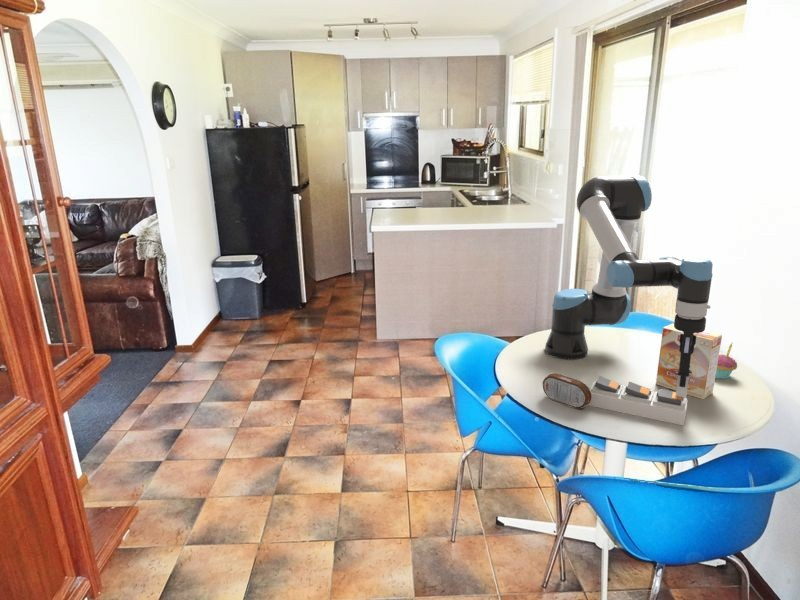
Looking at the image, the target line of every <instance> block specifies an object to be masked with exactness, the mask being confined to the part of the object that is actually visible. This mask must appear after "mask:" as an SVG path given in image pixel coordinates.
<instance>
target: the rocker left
mask: <svg viewBox="0 0 800 600" xmlns="http://www.w3.org/2000/svg"><path fill="white" fill-rule="evenodd" d="M596 380H597V382H596V384H595V387H597V388H599V389H602V390H604V391H608V392H613V393H616V391H617V389H618V386H619V385H620V383H618V382H616V381H614V380H611V379H608V378H606V377H603V376H600V375H599V376H598V378H597V379H596Z"/></svg>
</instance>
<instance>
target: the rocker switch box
mask: <svg viewBox="0 0 800 600" xmlns="http://www.w3.org/2000/svg"><path fill="white" fill-rule="evenodd" d="M597 380H598V379H594V381H593V382H592V385H591V387H590V388H589V390H590V392H591V401H590V403H589V404H588V405H587V406H589V407H595V408H598V409H599V408H600V409H604V410H608V411H613V412H618V413H624V414H628V415H632V416H637V417H642V418H647V419H651V420H656V421H661V422H666V423H670V424H675V425H680V426H685V419H686V413H687V407H688V398H687V397H686V398H685V397H682V400H681V406H679V405H674V404H669V403H665V402H661V401H657V398H658V393H659V391H655V390H651V389H650V392H649V395H648V398H647V399H644V398H639V397H635V396H632V395H630V394H627V393H625V391H626V389H627V386H628V385H623V384H619V386H618V389H617V391H616V393H613V392H608V391H604V390H602V389H599V388H597V387H595V384H596V382H597ZM654 391H655V392H654Z"/></svg>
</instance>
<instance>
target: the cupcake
mask: <svg viewBox="0 0 800 600" xmlns="http://www.w3.org/2000/svg"><path fill="white" fill-rule="evenodd" d="M732 347H733V342H731V344H729V347H728V350H727V352H726V355H725V354H719V357H718V363H717V370H716V376H715V379H720V380H725V379H726V378H727V379H729V377H730V375H731V374H732V372H733V371H734V370H737V368H738V363H737V361H736V359H734V358H733V357H731V356H729V355H730V352H731V350H732Z"/></svg>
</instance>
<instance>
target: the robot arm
mask: <svg viewBox="0 0 800 600" xmlns="http://www.w3.org/2000/svg"><path fill="white" fill-rule="evenodd" d="M652 198H653V197H652V188H651V184H650V183H649V181H648V180H647V179H646V178H645V177H644V176H642V175H631V174H629V175H627V174H626V175H600V176H599V175H598V176H595V177H593V178H591V179H588V180H587V181H586V182H585V183H584V184H583V185H582V186H581V188H580V189H579V191H578V194H577V197H576V207H577V211H578V213H579V215H580V217H581V218H582V219H583V220H586V222H587V223H588V224H589V227H590V228H591V230H592V233H593V234H594V236H595V239H596V241H597V242H598V244H599V246H600V248H601V250H602V252H601V253H602V254H601V259H600V266H599V271H598V272H599V274H598V280H597V283H595V284H594V285H592V289H591V293H588V291H587V290H585V289H582V288H566V289H561V290H560V291H558V292H557V293H555V294H554V297H553V300H552V301H553V302H552V316H551V330H550V333H549V336H548V338H547V340H546V342H545V346H544V347H545V348H544V350H545V351H544V352H545V353H546V354H547V355H548V356H551V357H552V358H553V357H554V358H556V359H562V360H579V359H580V358H581V359H584V358H586V357H587V356H588V351H589V347H588V343H587V340H586V335H585V327H586V326H601V325H602V326H614V325H620V324H623V323H624V322H625V321H627V320H628V318H629V316H630V313H631V308H632V304H631V301H632V300H631V297H630V295H629V294H628V292H627V289H628V288H640V287H642V288H643V287H673V288H675V289H677V294H676V295H677V296H676V301H675V303H676V304H675V311H674V312H675V315H674V321H673V323H674V327H675V329H677V330H679V331H682V332H684V334H680V340H679V342H680V349H679V351H680V352H681V357H680V365H679V372H676V375H678V380H677V388H676V390H675V392H676V396H679V397H685V398H686V399H687V396H688V394H687V389H688V381H689V373H691V374H692V371H691V370H689V368H690V359H691V354H693V351H694V345H695V344H696V336H697V335H694V334H693V333H701V332H703V331H706V325H707V324H706V323H707V313H708V310H710V309H711V305H709V299H710V293H711V285H712V279H713V264H714V263H713V262H712V260H710V259H708V258H703V257H695V256H694V257H693V256H692V257H691V256H690V257H684V258H683V259H682V260H681V259H679V258H677V257H673V256H662V257H660V258H658V259H640V258H639V257H638V256H637V254H636V251H635V250H634V248H633V247H632V245H631V244H632V239H633V235H634V234H633V233H634V228H635V227H634V226H635V223H636V222H637V221H639V220H640V219H641V216H642V212H646V211H648V209H649V208H650V206H651V204H652Z"/></svg>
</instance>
